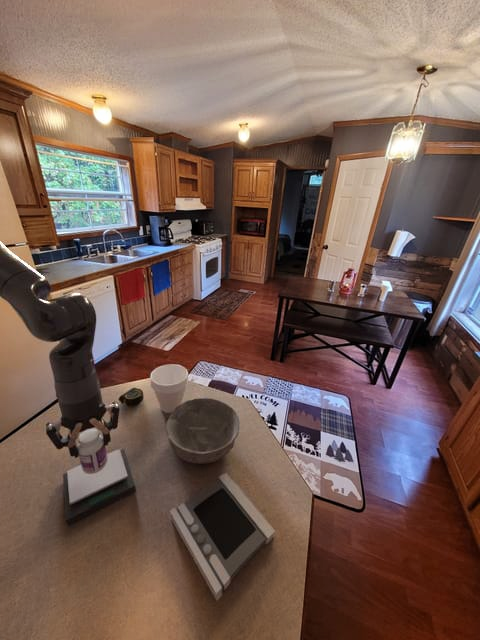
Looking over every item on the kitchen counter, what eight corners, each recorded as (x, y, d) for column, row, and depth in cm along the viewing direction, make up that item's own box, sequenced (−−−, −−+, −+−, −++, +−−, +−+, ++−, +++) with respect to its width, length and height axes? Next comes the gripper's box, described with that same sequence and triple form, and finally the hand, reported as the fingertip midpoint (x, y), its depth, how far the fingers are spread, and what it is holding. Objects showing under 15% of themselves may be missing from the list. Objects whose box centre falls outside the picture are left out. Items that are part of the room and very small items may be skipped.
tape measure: (135, 393, 94) (134, 384, 93) (148, 400, 92) (147, 391, 90) (119, 403, 89) (117, 395, 87) (132, 411, 86) (131, 402, 85)
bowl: (251, 457, 73) (254, 431, 69) (185, 496, 62) (184, 468, 58) (215, 412, 89) (216, 389, 85) (157, 437, 77) (155, 411, 73)
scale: (68, 527, 54) (64, 516, 53) (64, 480, 63) (61, 471, 62) (135, 491, 62) (134, 482, 61) (124, 455, 71) (123, 445, 70)
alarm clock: (169, 511, 56) (227, 464, 65) (171, 522, 58) (227, 476, 68) (216, 593, 44) (277, 522, 54) (217, 604, 46) (275, 534, 56)
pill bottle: (103, 450, 64) (97, 422, 61) (111, 465, 61) (105, 436, 57) (79, 463, 61) (71, 434, 57) (86, 479, 57) (78, 449, 54)
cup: (195, 401, 93) (195, 370, 87) (174, 424, 82) (172, 390, 77) (168, 390, 97) (166, 360, 92) (144, 411, 87) (141, 378, 81)
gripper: (113, 371, 59) (121, 425, 65) (35, 390, 51) (53, 450, 58) (120, 389, 53) (128, 446, 60) (34, 414, 45) (54, 477, 52)
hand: (91, 448), depth 59 cm, fingers closed on pill bottle, 5 cm apart
